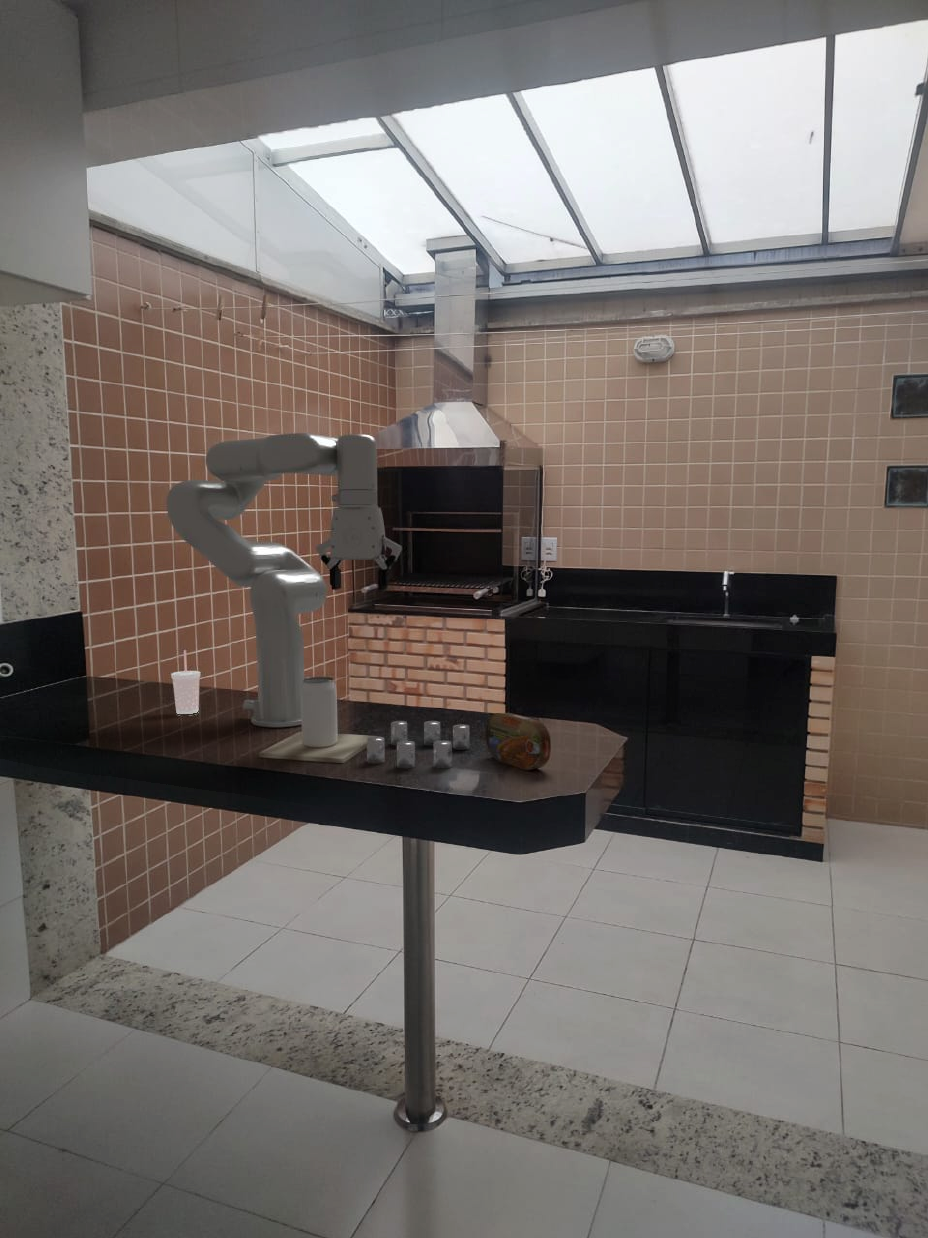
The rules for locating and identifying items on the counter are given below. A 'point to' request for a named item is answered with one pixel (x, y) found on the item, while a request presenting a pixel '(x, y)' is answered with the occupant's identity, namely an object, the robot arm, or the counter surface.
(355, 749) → the board
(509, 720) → the tin
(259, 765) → the counter surface
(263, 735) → the counter surface
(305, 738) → the can
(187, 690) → the beverage cup
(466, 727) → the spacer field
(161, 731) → the counter surface
